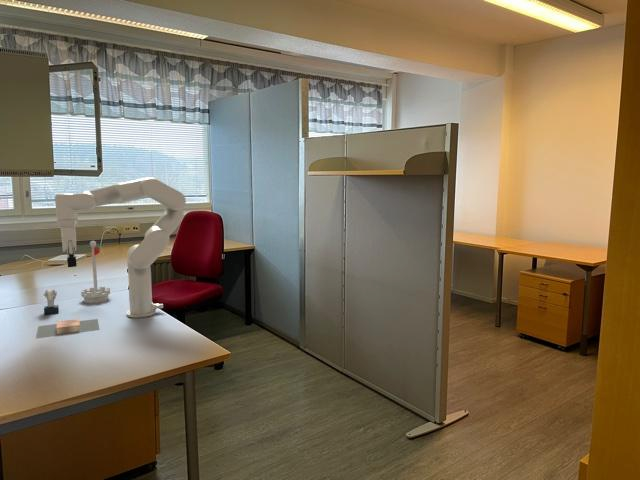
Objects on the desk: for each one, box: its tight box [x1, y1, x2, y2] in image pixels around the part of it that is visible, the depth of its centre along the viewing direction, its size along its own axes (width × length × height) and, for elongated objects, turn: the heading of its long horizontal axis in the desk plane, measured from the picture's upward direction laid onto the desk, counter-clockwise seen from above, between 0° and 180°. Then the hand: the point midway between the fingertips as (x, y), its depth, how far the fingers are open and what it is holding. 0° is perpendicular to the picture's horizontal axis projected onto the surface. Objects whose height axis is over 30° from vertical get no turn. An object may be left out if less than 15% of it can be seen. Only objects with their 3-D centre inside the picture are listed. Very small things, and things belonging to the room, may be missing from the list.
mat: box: [35, 318, 100, 339], centre depth 190 cm, size 22×16×1 cm
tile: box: [56, 318, 80, 334], centre depth 188 cm, size 8×2×9 cm
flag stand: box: [80, 240, 111, 304], centre depth 232 cm, size 13×13×30 cm
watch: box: [43, 288, 60, 316], centre depth 211 cm, size 6×8×11 cm
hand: (72, 266), depth 196 cm, fingers closed
